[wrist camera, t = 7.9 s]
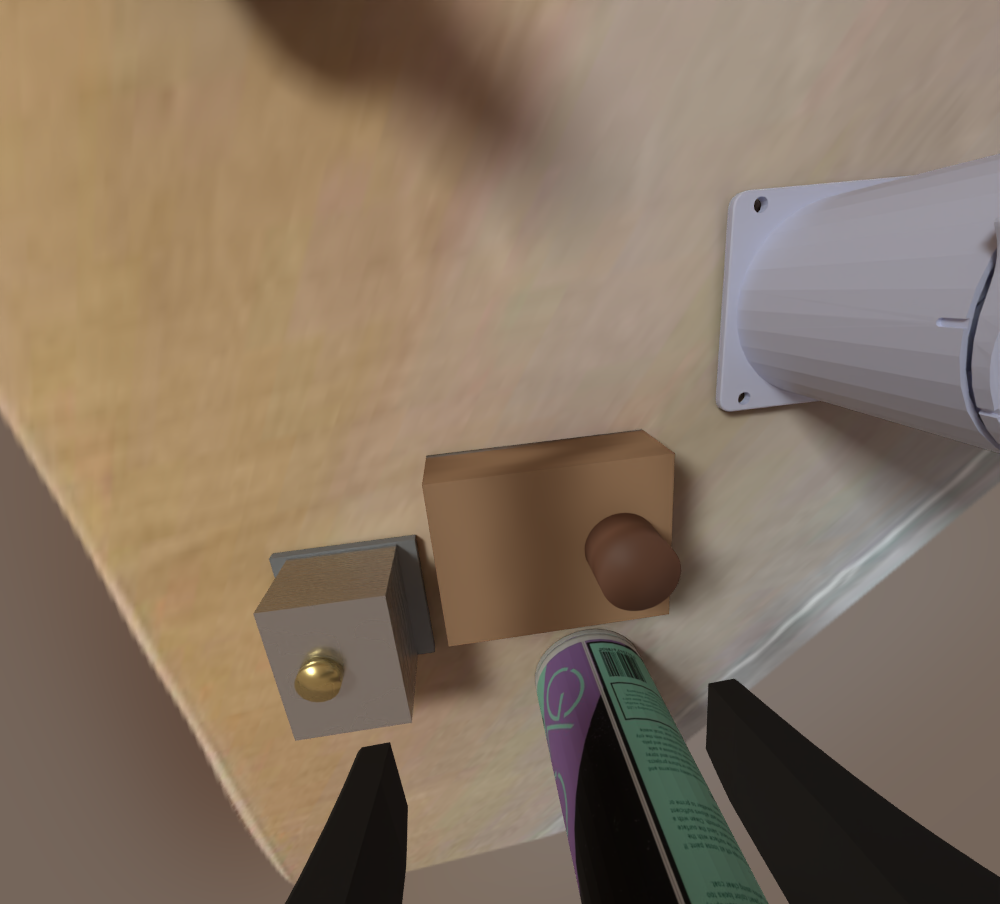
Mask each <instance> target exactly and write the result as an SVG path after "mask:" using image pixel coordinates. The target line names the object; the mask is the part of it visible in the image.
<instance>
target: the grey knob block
mask: <svg viewBox="0 0 1000 904" xmlns="http://www.w3.org/2000/svg"><path fill="white" fill-rule="evenodd" d="M253 614H254V617H255V620H256V623H257V626H258V629H259V632H260V635H261V638H262V641H263V644H264V647H265V650H266V653H267V656H268V659H269V662H270V665H271V669H272V672H273V675H274V678H275V681H276V684H277V687H278V690H279V693H280V696H281V699H282V702H283V705H284V708H285V711H286V714H287V717H288V720H289V723H290V726H291V729H292V732H293V735H294V738H295V741H296V740H302V739H309V738H315V737H322V736H328V735H335V734H341V733H348V732H354V731H360V730H367V729H373V728H380V727H386V726H393V725H399V724H406V723H412V715H413V704H414V693H415V682H416V671H417V660H418V654H417V649H416V644H415V639H414V634H413V628H412V623H411V618H410V613H409V607H408V602H407V597H406V592H405V586H404V581H403V576H402V571H401V565H400V560H399V555H398V550H397V544H393V545H386V546H378V547H370V548H363V549H355V550H347V551H340V552H332V553H324V554H317V555H309V556H301V557H294V558H287V560H286V562H285V563H284V565H283V566H282V568H281V570H280V571H279V573H278V575H277V576H276V578H275V579H274V581H273V583H272V584H271V586H270V588H269V589H268V591H267V592H266V594H265V596H264V597H263V599H262V600H261V602H260V604H259V605H258V607H257V609H256V610H255V612H254V613H253Z"/></svg>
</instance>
